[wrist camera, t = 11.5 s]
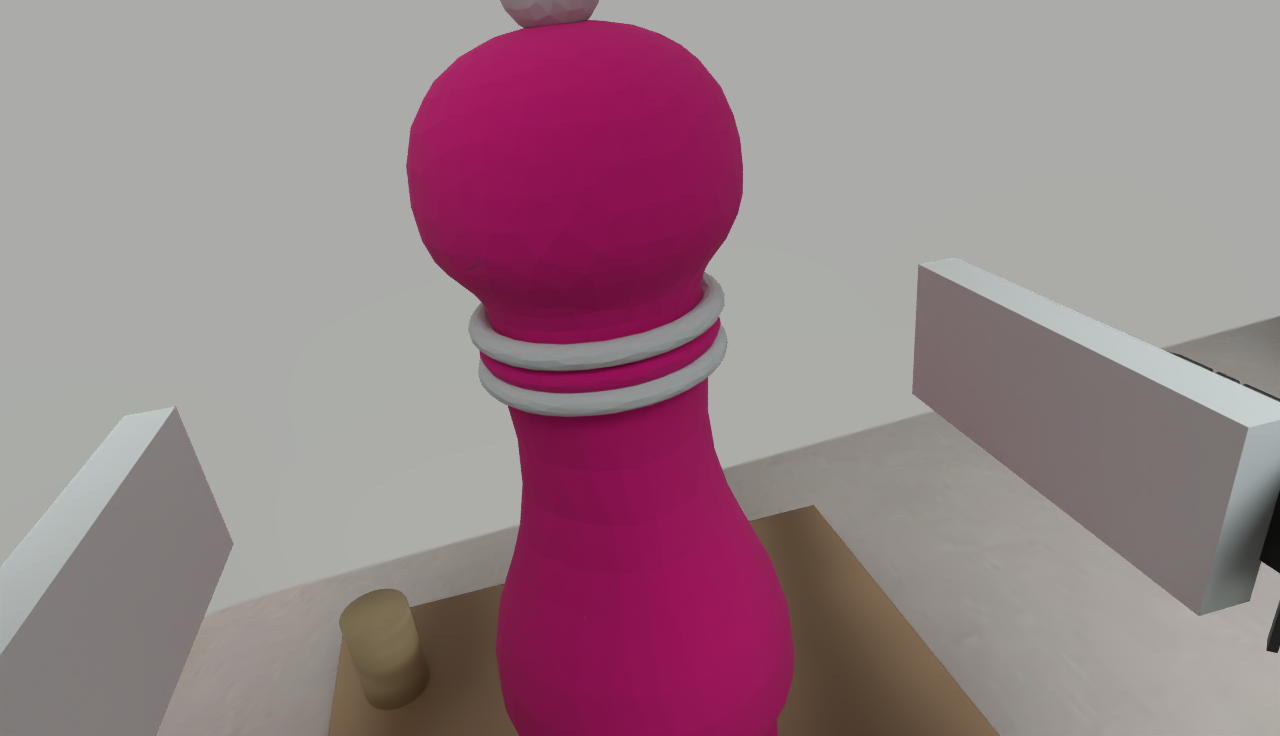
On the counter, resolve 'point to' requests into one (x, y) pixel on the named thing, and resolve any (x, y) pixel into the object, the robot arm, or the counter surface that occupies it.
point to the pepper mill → (605, 371)
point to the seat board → (807, 726)
